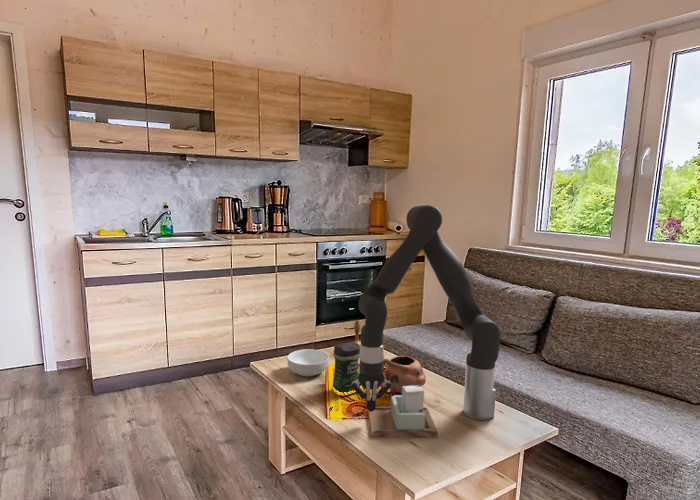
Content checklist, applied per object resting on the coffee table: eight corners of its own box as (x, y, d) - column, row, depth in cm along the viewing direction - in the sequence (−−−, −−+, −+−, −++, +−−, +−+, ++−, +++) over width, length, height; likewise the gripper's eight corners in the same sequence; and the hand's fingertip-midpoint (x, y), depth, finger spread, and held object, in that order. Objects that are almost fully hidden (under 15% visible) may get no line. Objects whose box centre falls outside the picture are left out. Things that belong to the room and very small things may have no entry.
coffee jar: (341, 399, 153) (342, 349, 150) (329, 390, 159) (329, 342, 157) (362, 392, 159) (364, 344, 156) (350, 384, 165) (351, 338, 163)
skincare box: (404, 429, 134) (405, 392, 133) (400, 421, 138) (401, 385, 137) (423, 427, 135) (424, 390, 134) (418, 420, 140) (419, 384, 138)
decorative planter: (369, 392, 158) (370, 356, 156) (387, 382, 168) (388, 348, 166) (416, 410, 146) (417, 371, 144) (433, 398, 155) (435, 361, 153)
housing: (416, 409, 143) (416, 395, 142) (424, 430, 130) (424, 414, 130) (390, 409, 143) (391, 395, 142) (396, 430, 130) (396, 414, 129)
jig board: (427, 412, 144) (427, 406, 144) (437, 437, 130) (438, 431, 129) (368, 412, 144) (368, 406, 143) (371, 437, 129) (372, 431, 129)
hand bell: (346, 356, 193) (347, 322, 191) (349, 350, 201) (350, 317, 199) (364, 358, 192) (365, 323, 190) (367, 351, 200) (367, 318, 198)
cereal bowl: (298, 385, 164) (298, 367, 163) (280, 370, 177) (280, 353, 177) (336, 375, 173) (336, 358, 172) (316, 362, 187) (316, 346, 186)
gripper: (391, 353, 138) (390, 404, 140) (350, 353, 137) (349, 404, 139) (394, 362, 130) (393, 416, 132) (351, 362, 130) (350, 416, 132)
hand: (370, 410), depth 136 cm, fingers closed
